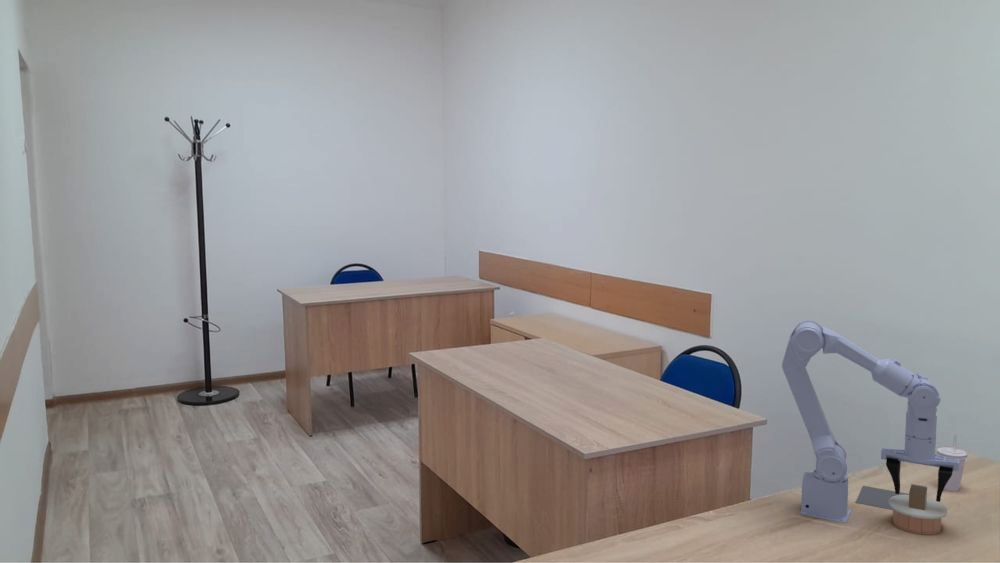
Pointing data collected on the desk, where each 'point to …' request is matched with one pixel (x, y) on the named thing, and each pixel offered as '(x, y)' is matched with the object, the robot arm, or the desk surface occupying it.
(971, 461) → the desk surface
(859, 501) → the mat
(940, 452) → the smoothie
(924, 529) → the bowl
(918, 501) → the lid
